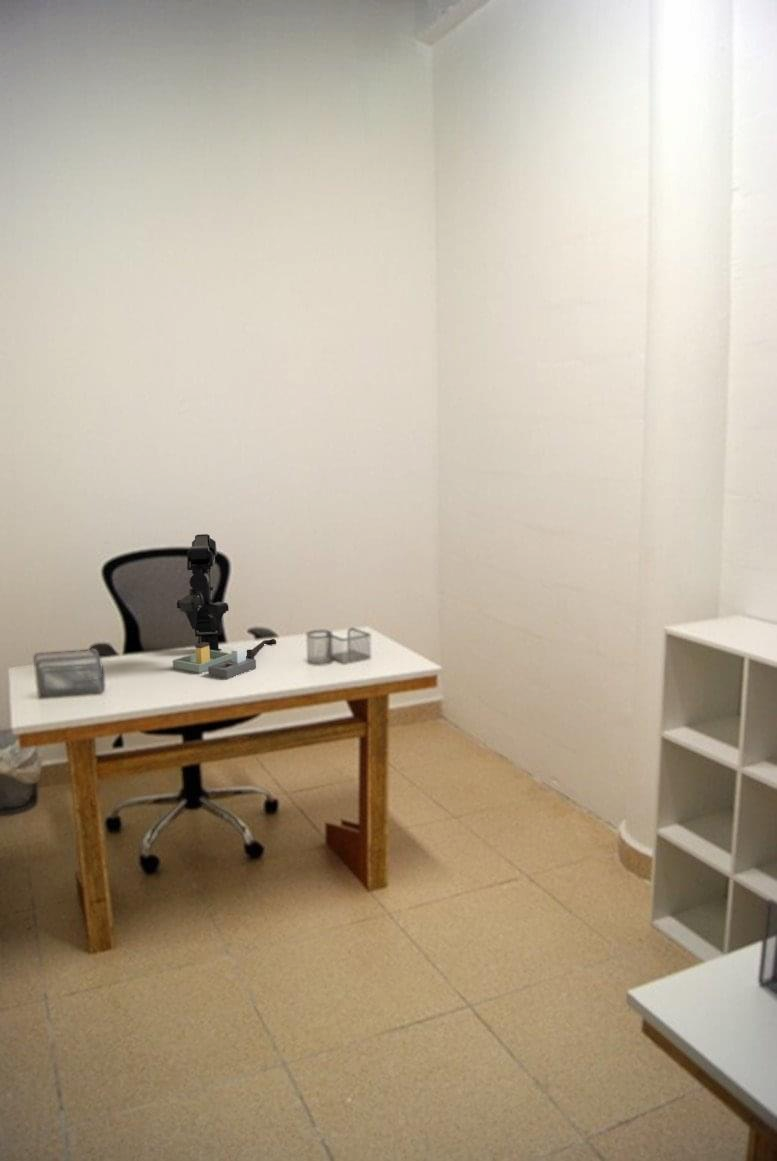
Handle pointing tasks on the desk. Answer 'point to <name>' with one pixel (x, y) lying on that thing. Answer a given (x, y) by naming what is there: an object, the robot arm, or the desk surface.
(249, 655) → the wrench
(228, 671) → the fuse block
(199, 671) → the parts tray
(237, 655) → the white rectangular block
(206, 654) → the tan and brown block
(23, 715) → the desk surface
